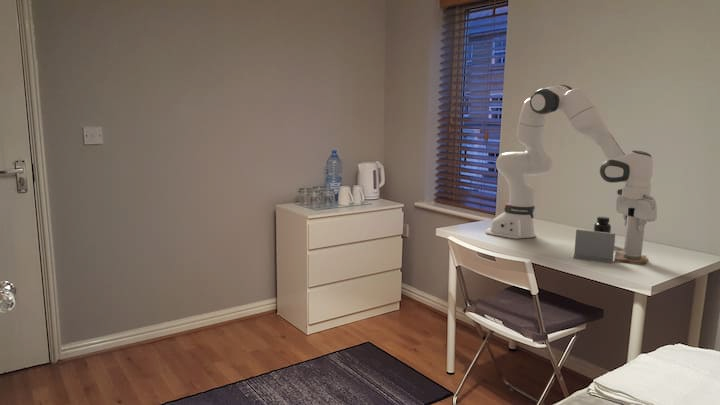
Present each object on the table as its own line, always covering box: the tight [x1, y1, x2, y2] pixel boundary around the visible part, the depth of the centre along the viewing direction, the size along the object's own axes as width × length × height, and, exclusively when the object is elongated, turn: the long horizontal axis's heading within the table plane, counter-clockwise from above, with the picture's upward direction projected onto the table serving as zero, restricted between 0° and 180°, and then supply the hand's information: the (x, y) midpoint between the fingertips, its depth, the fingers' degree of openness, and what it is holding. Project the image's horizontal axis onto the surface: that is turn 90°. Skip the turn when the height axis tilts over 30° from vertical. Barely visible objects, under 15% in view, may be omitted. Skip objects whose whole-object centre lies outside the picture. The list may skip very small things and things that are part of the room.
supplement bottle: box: [593, 216, 612, 233], centre depth 231 cm, size 7×7×12 cm
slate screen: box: [573, 228, 616, 264], centre depth 206 cm, size 14×4×11 cm, turn 62°
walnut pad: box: [613, 251, 647, 266], centre depth 208 cm, size 11×11×1 cm
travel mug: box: [623, 208, 645, 259], centre depth 206 cm, size 6×7×20 cm
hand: (633, 228), depth 205 cm, fingers closed on travel mug, 6 cm apart
